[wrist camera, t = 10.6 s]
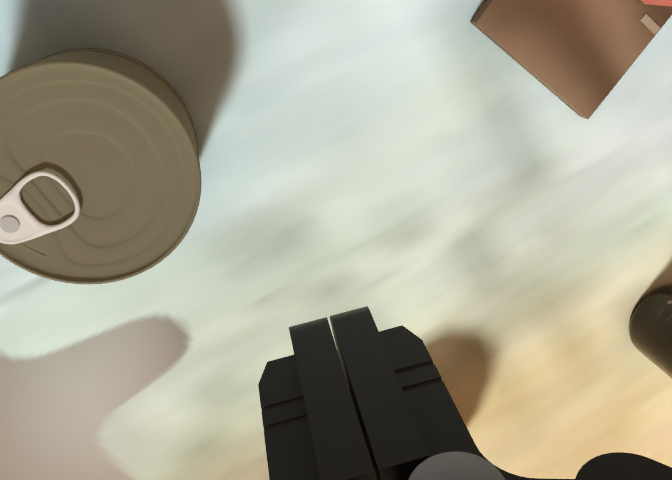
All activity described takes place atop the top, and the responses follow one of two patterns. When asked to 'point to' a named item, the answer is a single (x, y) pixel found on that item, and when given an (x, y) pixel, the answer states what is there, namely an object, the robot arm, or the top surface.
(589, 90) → the brown piece
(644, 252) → the top surface
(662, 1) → the red block
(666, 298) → the supplement bottle
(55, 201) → the can
